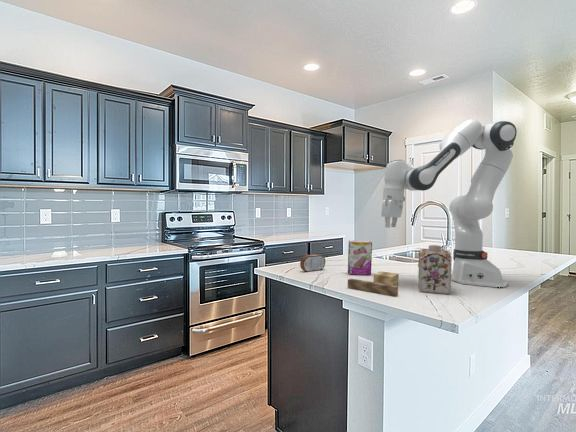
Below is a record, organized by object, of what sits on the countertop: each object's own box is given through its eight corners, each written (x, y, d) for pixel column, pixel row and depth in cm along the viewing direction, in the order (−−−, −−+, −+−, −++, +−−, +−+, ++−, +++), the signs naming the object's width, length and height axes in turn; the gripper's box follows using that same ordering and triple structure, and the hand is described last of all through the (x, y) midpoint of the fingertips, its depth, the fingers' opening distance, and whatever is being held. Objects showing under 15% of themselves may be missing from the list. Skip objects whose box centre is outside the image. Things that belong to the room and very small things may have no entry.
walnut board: (397, 295, 128) (398, 286, 128) (395, 296, 126) (395, 287, 126) (350, 286, 141) (350, 278, 141) (347, 287, 139) (347, 279, 139)
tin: (322, 268, 179) (322, 253, 179) (326, 269, 177) (326, 253, 177) (299, 271, 171) (299, 255, 171) (303, 273, 168) (303, 256, 168)
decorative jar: (448, 288, 140) (449, 244, 140) (451, 295, 129) (452, 248, 129) (417, 285, 144) (418, 243, 144) (418, 291, 134) (419, 246, 133)
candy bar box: (348, 275, 164) (348, 241, 164) (347, 272, 169) (348, 240, 169) (371, 275, 163) (372, 241, 163) (370, 273, 168) (370, 240, 168)
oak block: (398, 285, 145) (398, 273, 145) (392, 288, 139) (392, 276, 139) (380, 282, 150) (380, 271, 150) (373, 286, 143) (373, 274, 143)
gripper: (394, 195, 140) (391, 228, 141) (405, 198, 157) (403, 227, 158) (379, 194, 143) (376, 227, 144) (392, 197, 161) (389, 226, 161)
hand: (390, 227), depth 151 cm, fingers open, 8 cm apart
